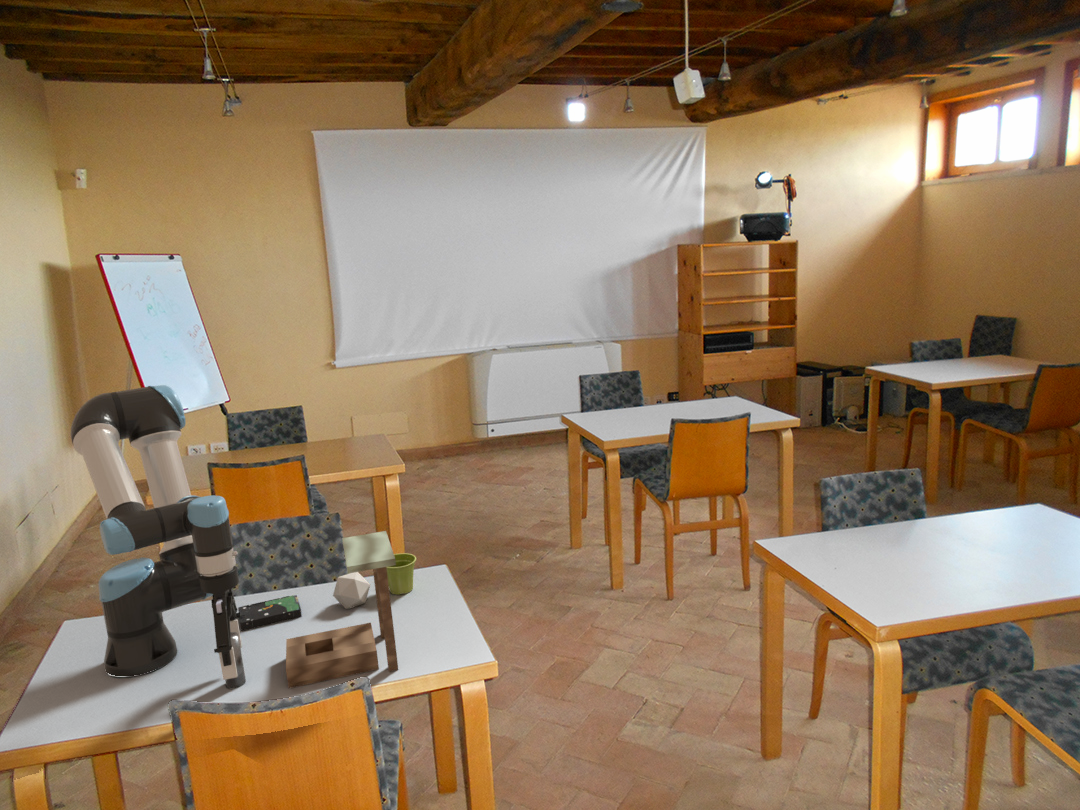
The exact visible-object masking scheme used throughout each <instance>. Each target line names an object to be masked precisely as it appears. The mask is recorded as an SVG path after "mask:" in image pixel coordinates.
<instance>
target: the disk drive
mask: <svg viewBox="0 0 1080 810" xmlns="http://www.w3.org/2000/svg"><path fill="white" fill-rule="evenodd" d="M301 608H302V607H301V605H300V601H299V598H298V595H297V594H295V595H287V596H283V597H277V598H273V599H269V600H266V601H260V602H256V603H251V604H247V605H242V606H238V607H237V612H238V613H239V612H240V616H241V617H240V618H238V619H239V620H238V621H239V626H240V627H239V628H240V631H241V632H244V631H249V630H251V629H256V628H261V627H264V626H268V625H273V624H278V623H281V622H286V621H291V620H294V619H295V620H296V619H298V618H302V617H303V616H302V615H303V614H302V609H301Z"/></svg>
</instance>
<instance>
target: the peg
mask: <svg viewBox="0 0 1080 810" xmlns="http://www.w3.org/2000/svg"><path fill="white" fill-rule="evenodd" d="M225 645H226V644H225ZM231 645H232V647H233V651H234V657H235V663H236V669H237V675H238V676H237V677H235V678H230V679H226V680H224V681H225V686H226V688H227V689H231V690H232V689H237V688H239V687H240V688H241V687H242V686H244V685H245V684H246V681H247V680H246V674H245V667H244V662H243V661H244V660H243V656H242V649H241V648H240V641H239V635H238V633H235V632H231Z"/></svg>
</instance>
